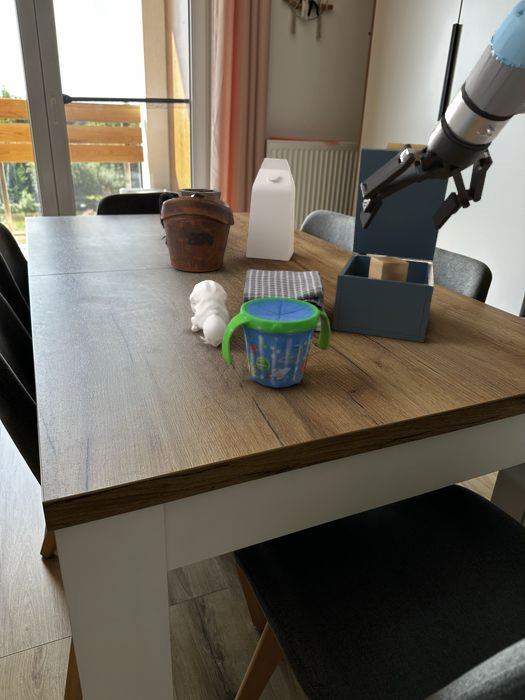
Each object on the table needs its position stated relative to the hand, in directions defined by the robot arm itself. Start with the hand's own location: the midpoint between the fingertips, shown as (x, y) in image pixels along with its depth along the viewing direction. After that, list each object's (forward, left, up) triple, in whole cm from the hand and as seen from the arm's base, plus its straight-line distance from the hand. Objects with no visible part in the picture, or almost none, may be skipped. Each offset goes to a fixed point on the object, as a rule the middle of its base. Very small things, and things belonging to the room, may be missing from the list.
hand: (400, 222), depth 88 cm
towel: (+19, +3, -19) cm, 27 cm away
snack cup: (+13, +30, -19) cm, 37 cm away
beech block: (+1, -1, -18) cm, 18 cm away
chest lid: (+1, -10, +1) cm, 10 cm away
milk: (+36, -49, -19) cm, 64 cm away
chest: (+1, -3, -19) cm, 19 cm away
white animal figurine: (+27, +19, -19) cm, 38 cm away
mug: (+66, -60, -19) cm, 91 cm away
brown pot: (+49, -26, -19) cm, 59 cm away
